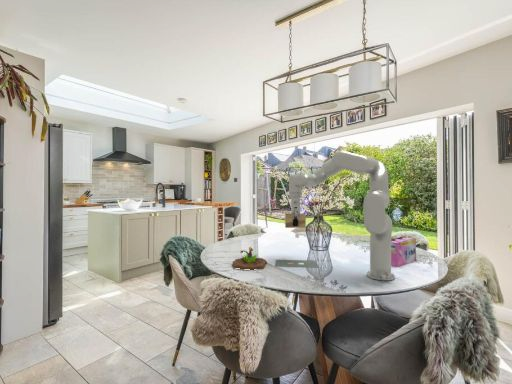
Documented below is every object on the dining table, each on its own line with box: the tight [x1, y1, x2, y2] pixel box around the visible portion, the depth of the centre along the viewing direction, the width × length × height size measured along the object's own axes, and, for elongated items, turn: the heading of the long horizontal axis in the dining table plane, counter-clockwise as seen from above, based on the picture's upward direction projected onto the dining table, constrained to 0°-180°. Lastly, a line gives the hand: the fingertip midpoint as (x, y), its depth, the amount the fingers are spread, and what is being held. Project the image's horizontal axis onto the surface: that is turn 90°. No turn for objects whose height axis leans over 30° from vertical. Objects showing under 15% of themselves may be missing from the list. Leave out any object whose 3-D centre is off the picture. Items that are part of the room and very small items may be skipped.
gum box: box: [391, 236, 417, 268], centre depth 160 cm, size 24×8×14 cm, turn 125°
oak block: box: [284, 212, 307, 229], centre depth 165 cm, size 5×12×8 cm, turn 84°
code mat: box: [274, 259, 319, 269], centre depth 159 cm, size 15×24×1 cm, turn 83°
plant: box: [232, 246, 268, 271], centre depth 156 cm, size 20×20×11 cm
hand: (295, 225), depth 165 cm, fingers closed on oak block, 5 cm apart
